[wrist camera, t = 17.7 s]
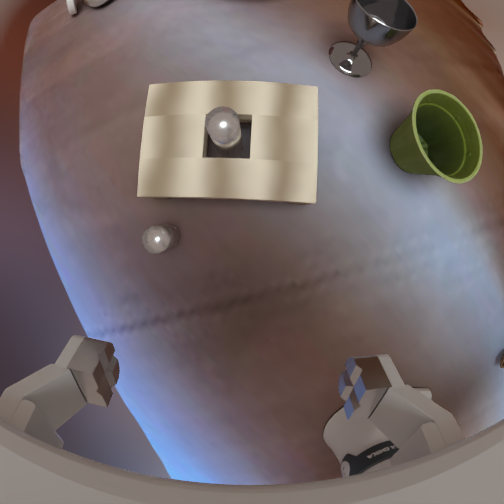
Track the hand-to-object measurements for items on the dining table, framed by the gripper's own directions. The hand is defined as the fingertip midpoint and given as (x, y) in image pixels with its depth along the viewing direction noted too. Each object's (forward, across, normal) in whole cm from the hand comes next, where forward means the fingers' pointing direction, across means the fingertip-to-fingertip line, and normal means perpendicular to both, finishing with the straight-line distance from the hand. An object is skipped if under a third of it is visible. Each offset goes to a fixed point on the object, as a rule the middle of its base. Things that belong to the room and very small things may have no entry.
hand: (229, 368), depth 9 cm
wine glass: (+36, -15, -21) cm, 45 cm away
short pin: (+29, +9, +7) cm, 31 cm away
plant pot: (+32, -24, -8) cm, 41 cm away
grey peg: (+32, +2, -4) cm, 33 cm away
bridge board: (+32, +1, -4) cm, 33 cm away
